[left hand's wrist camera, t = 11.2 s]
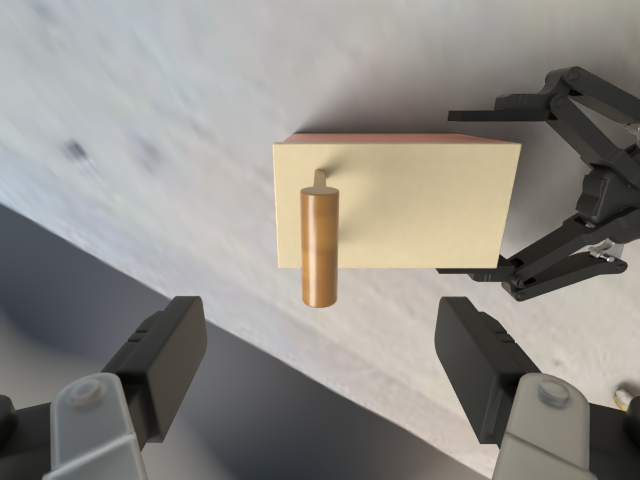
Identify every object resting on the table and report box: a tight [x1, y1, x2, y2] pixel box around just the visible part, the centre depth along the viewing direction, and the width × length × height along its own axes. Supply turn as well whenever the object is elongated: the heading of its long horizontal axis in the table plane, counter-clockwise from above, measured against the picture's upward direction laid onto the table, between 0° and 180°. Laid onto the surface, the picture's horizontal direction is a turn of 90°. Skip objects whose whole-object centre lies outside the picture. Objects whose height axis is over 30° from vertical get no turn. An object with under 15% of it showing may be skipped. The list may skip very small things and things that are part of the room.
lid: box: [273, 142, 522, 308], centre depth 21 cm, size 17×9×9 cm, turn 90°
